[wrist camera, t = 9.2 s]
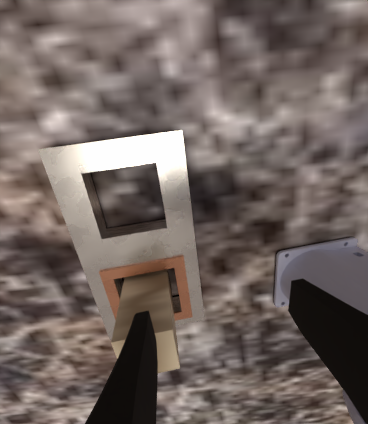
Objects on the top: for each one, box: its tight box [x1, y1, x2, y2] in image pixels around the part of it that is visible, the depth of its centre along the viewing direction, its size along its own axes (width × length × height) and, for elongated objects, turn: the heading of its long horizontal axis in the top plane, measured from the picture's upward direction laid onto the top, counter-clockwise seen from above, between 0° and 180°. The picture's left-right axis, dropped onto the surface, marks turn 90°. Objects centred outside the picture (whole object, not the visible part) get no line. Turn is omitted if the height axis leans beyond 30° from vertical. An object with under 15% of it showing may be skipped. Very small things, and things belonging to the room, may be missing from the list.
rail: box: [38, 130, 205, 340], centre depth 19 cm, size 10×19×2 cm, turn 7°
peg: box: [111, 269, 180, 373], centre depth 18 cm, size 4×4×8 cm
